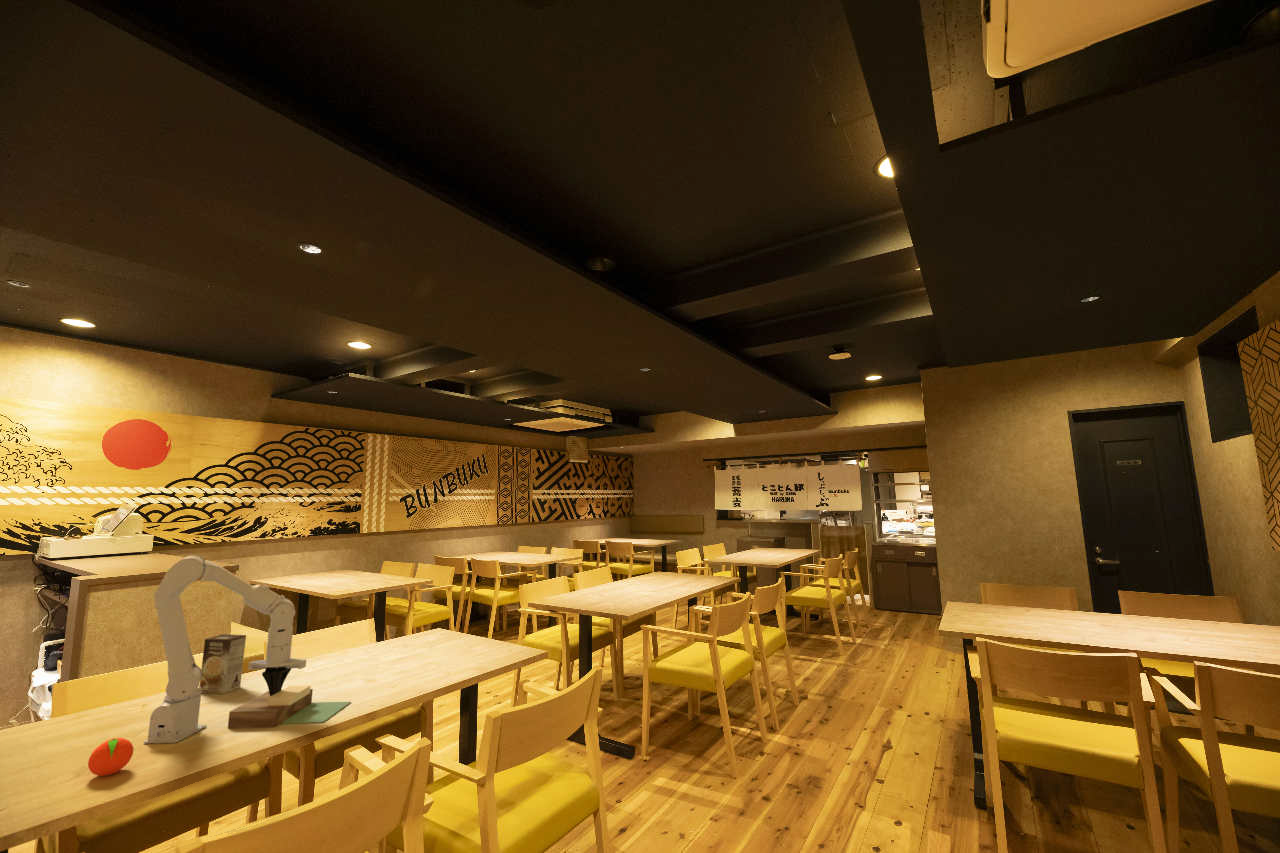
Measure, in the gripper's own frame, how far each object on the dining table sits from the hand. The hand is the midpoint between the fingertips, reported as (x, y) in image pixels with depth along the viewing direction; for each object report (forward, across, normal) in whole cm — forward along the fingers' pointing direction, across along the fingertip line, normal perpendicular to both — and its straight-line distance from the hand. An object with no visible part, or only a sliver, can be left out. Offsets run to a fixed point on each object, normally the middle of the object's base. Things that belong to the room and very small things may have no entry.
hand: (274, 695), depth 143 cm
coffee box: (+5, +30, -21) cm, 37 cm away
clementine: (+5, +14, +31) cm, 35 cm away
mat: (+5, -12, -1) cm, 13 cm away
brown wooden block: (+5, 0, 0) cm, 5 cm away
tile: (+1, -4, 0) cm, 4 cm away
